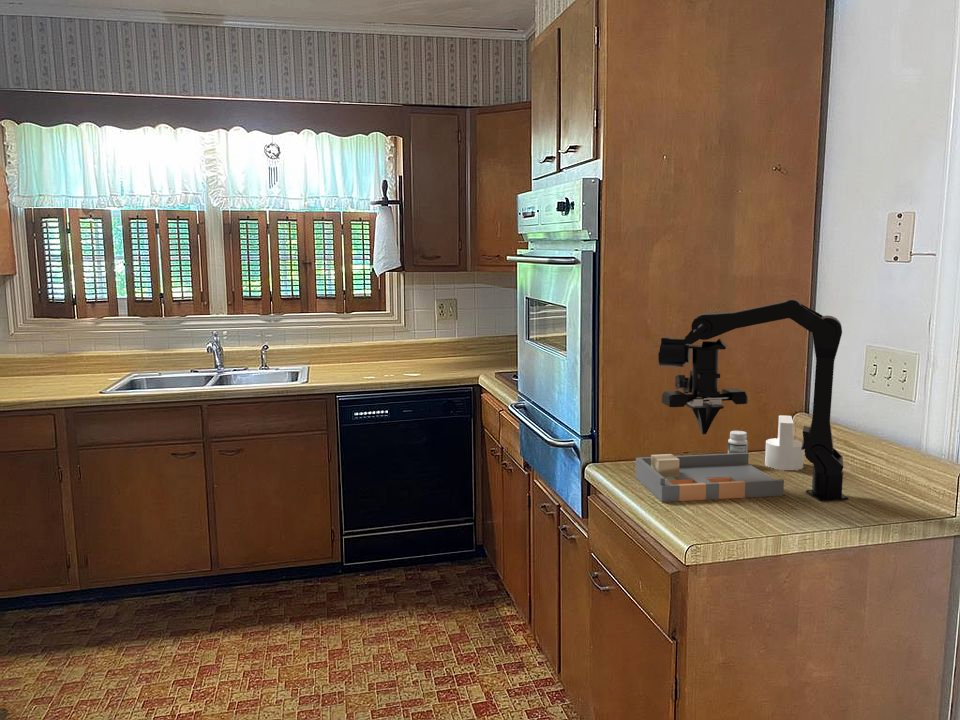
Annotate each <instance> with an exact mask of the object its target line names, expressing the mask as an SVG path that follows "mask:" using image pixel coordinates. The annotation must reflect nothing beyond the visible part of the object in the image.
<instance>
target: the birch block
mask: <svg viewBox="0 0 960 720" xmlns="http://www.w3.org/2000/svg"><path fill="white" fill-rule="evenodd" d="M675 456H676V455H674V454H672V453H665V454H664V453H663V454H650V457H651V467H652V468H653V469H654V470H656V471H657V472H658V473H659V474H660V475H662V476H663V477H678V476H679V461H680V460H679V459H678V458H677V457H675Z"/></svg>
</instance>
